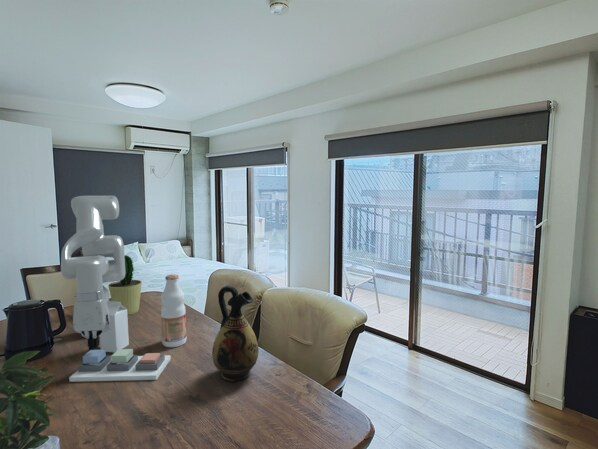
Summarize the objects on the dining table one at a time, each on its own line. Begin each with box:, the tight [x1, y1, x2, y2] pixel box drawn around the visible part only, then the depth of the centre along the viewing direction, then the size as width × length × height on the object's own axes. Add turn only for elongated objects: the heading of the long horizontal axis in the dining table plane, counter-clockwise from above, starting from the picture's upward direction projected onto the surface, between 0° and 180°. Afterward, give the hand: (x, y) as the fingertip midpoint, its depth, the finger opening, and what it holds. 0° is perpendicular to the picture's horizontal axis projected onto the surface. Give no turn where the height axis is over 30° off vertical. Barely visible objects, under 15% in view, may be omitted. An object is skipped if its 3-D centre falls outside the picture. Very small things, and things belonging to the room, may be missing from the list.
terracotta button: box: [140, 352, 161, 364], centre depth 120 cm, size 5×5×2 cm
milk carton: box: [99, 300, 130, 354], centre depth 136 cm, size 7×7×19 cm
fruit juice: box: [160, 274, 188, 348], centre depth 140 cm, size 9×9×28 cm
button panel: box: [68, 354, 172, 383], centre depth 120 cm, size 14×28×4 cm, turn 92°
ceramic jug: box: [211, 285, 260, 383], centre depth 116 cm, size 17×15×30 cm
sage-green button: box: [110, 348, 134, 363], centre depth 120 cm, size 5×5×2 cm
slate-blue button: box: [82, 349, 107, 364], centre depth 120 cm, size 5×5×2 cm
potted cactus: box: [107, 254, 143, 316], centre depth 178 cm, size 15×15×30 cm
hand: (93, 348), depth 119 cm, fingers closed
